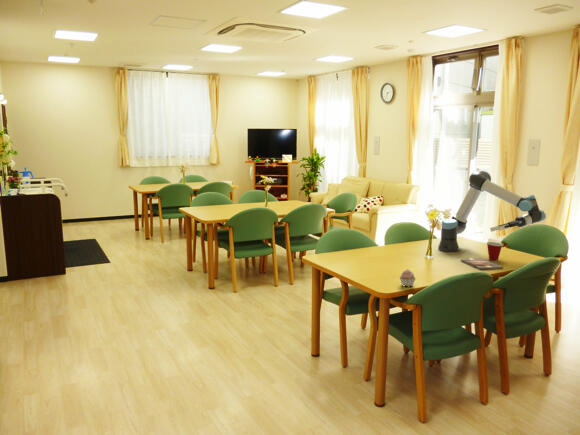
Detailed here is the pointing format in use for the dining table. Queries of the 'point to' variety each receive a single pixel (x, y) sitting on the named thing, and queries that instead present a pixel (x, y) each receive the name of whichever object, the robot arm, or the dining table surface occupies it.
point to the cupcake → (407, 278)
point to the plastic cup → (494, 250)
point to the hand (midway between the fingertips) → (495, 229)
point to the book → (481, 264)
